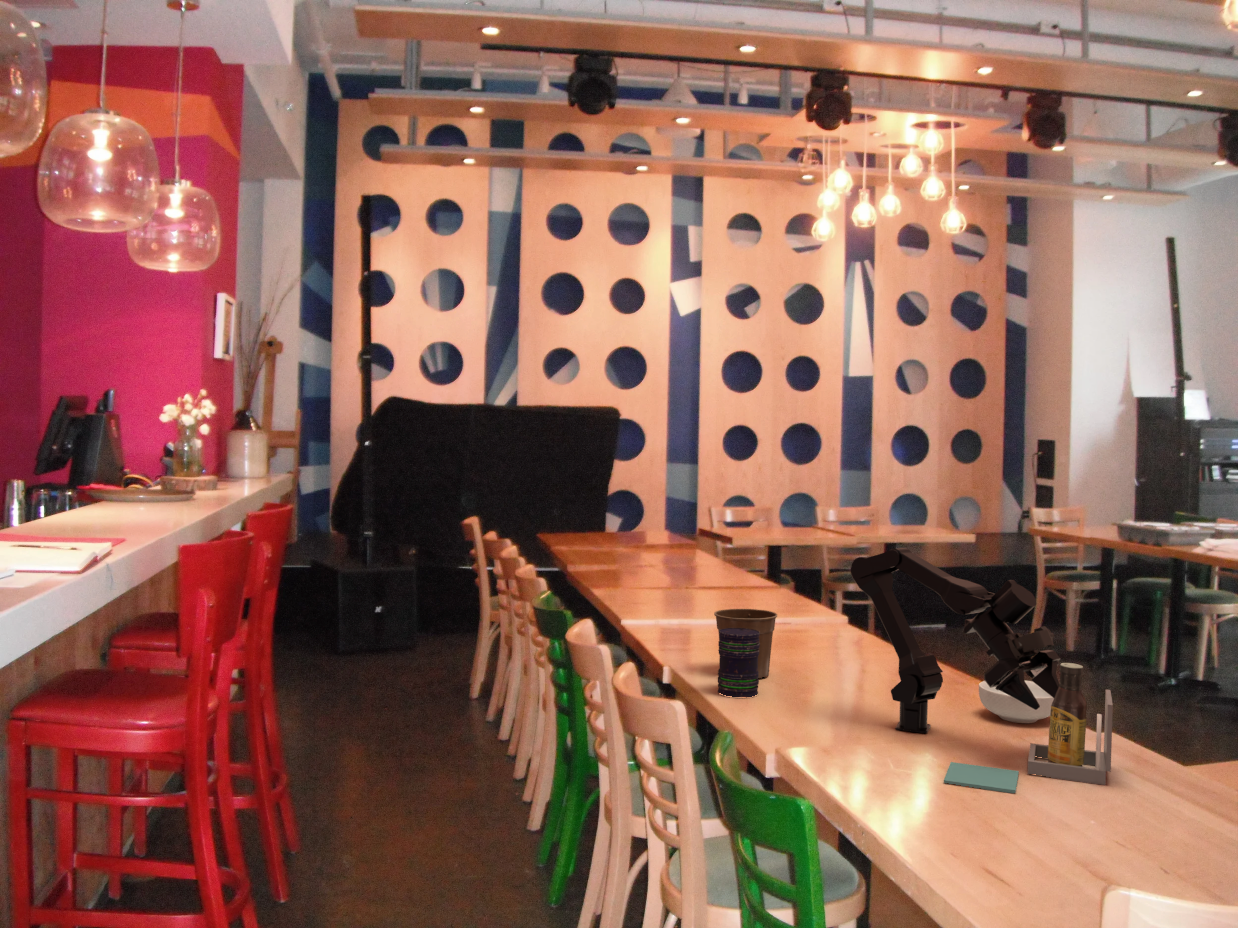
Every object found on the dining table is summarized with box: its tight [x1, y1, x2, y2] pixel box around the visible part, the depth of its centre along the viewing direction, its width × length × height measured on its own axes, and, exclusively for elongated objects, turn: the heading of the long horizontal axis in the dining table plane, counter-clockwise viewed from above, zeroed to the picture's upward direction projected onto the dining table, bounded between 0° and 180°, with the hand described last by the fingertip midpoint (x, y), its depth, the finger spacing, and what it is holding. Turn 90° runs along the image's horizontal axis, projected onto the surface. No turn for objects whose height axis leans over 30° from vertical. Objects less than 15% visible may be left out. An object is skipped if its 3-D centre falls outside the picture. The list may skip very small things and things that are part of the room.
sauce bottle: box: [1047, 662, 1088, 767], centre depth 196 cm, size 7×6×20 cm
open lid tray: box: [1027, 689, 1114, 786], centre depth 196 cm, size 13×14×14 cm
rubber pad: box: [943, 761, 1020, 794], centre depth 190 cm, size 12×12×1 cm
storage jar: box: [717, 628, 760, 698], centre depth 251 cm, size 10×10×15 cm
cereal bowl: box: [978, 679, 1054, 724], centre depth 233 cm, size 17×17×7 cm
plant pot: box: [714, 608, 778, 679], centre depth 271 cm, size 16×16×16 cm
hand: (1050, 704), depth 198 cm, fingers open, 9 cm apart
